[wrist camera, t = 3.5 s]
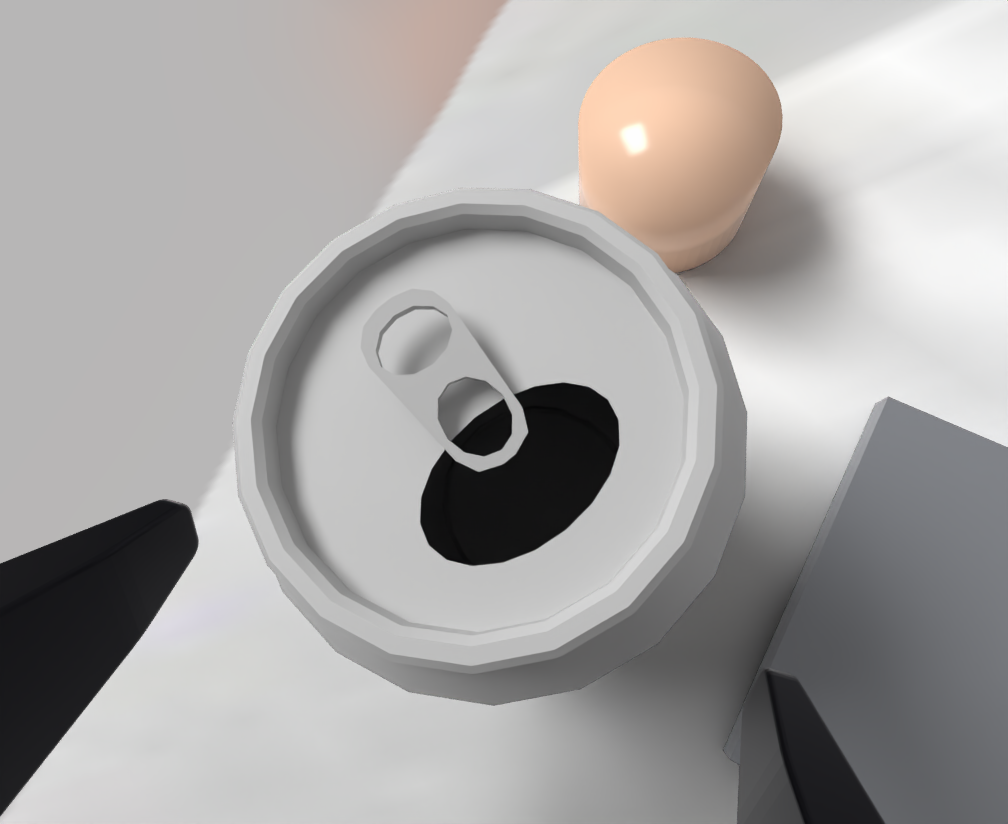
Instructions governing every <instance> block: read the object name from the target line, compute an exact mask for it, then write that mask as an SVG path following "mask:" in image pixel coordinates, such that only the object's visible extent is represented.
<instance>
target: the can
mask: <svg viewBox="0 0 1008 824" xmlns="http://www.w3.org/2000/svg"><path fill="white" fill-rule="evenodd" d="M232 424H233V437H234V449H235V462H236V475H237V488H238V497H239V499H240V501H241V504H242V506H243V509H244V511H245V513H246V516H247V518H248V521H249V523H250V525H251V528H252V530H253V533H254V535H255V537H256V540H257V542H258V545H259V547H260V549H261V552H262V554H263V556H264V559H265V561H266V564H267V566H268V567H269V568H270V569H271V570H272V571H273V572H274V573H275V575H276V577H277V579H278V582H279V584H280V586H281V589H282V591H283V593H284V594H285V595H286V596H287V597H288V598H289V600H290V601H291V602H292V603H293V604H294V605H295V606H296V607H297V609H298V610H299V611H300V612H301V613H302V614H303V615H304V616H305V618H306V619H307V620H308V621H309V622H310V623H311V624H312V625H313V627H314V628H315V629H316V630H317V631H318V632H319V633H320V634H321V636H322V637H323V638H324V639H325V640H326V641H327V642H328V643H329V645H330V646H331V647H332V648H333V649H334V650H335V651H336V652H337V653H339V654H341V655H342V656H344V657H346V658H348V659H350V660H352V661H353V662H355V663H357V664H359V665H361V666H362V667H364V668H366V669H368V670H370V671H371V672H373V673H375V674H377V675H379V676H381V677H382V678H384V679H386V680H388V681H390V682H391V683H393V684H395V685H397V686H399V687H400V688H402V689H404V690H406V691H408V692H412V693H418V694H424V695H430V696H437V697H443V698H449V699H455V700H462V701H468V702H474V703H480V704H487V705H493V706H494V705H500V704H505V703H510V702H515V701H521V700H526V699H531V698H537V697H542V696H547V695H552V694H558V693H563V692H568V691H574V690H579V689H582V688H583V687H585V686H587V685H588V684H590V683H592V682H594V681H595V680H597V679H599V678H600V677H602V676H604V675H605V674H607V673H609V672H611V671H612V670H614V669H616V668H617V667H619V666H621V665H623V664H624V663H626V662H628V661H629V660H631V659H633V658H635V657H636V656H638V655H640V654H641V653H643V652H645V651H646V650H648V649H650V648H652V647H653V646H655V645H657V644H658V643H659V642H660V640H661V639H662V638H663V637H664V636H665V634H666V633H667V632H668V631H669V630H670V629H671V627H672V626H673V625H674V624H675V623H676V621H677V620H678V619H679V618H680V617H681V615H682V614H683V613H684V612H685V611H686V610H687V608H688V607H689V606H690V605H691V604H692V602H693V601H694V600H695V599H696V598H697V596H698V595H699V594H700V593H701V592H702V591H703V589H704V588H705V587H706V586H707V585H708V583H709V582H710V581H711V580H712V579H713V578H714V576H715V574H716V571H717V568H718V566H719V563H720V560H721V558H722V555H723V552H724V550H725V547H726V545H727V542H728V539H729V537H730V534H731V531H732V529H733V526H734V523H735V521H736V518H737V515H738V513H739V510H740V508H741V505H742V502H743V500H744V497H745V475H746V436H747V411H746V408H745V405H744V401H743V398H742V395H741V392H740V389H739V386H738V383H737V379H736V376H735V373H734V370H733V367H732V364H731V360H730V357H729V354H728V351H727V348H726V345H725V342H724V338H723V336H722V335H721V333H720V332H719V331H718V329H717V328H716V327H715V325H714V324H713V323H712V321H711V320H710V318H709V317H708V316H707V314H706V313H705V312H704V310H703V309H702V308H701V306H700V305H699V303H698V302H697V301H696V299H695V298H694V297H693V295H692V294H691V293H690V291H689V290H688V288H687V287H686V286H685V284H684V283H683V282H682V280H681V279H680V278H679V276H678V275H677V274H675V273H674V272H673V271H671V270H670V269H668V267H667V266H666V265H665V263H664V262H663V260H662V259H661V258H660V256H659V255H658V254H657V253H656V252H655V251H653V250H652V249H650V248H649V247H648V246H646V245H645V244H643V243H642V242H641V241H639V240H638V239H636V238H635V237H634V236H632V235H631V234H629V233H628V232H627V231H625V230H624V229H622V228H621V227H620V226H618V225H617V224H615V223H614V222H613V221H611V220H610V219H608V218H607V217H606V216H604V215H603V214H601V213H600V212H599V211H596V210H592V209H589V208H586V207H583V206H580V205H577V204H574V203H571V202H568V201H565V200H562V199H559V198H556V197H553V196H550V195H547V194H544V193H540V192H537V191H534V190H530V189H492V188H458V189H454V190H450V191H446V192H442V193H439V194H435V195H431V196H427V197H423V198H419V199H415V200H411V201H407V202H403V203H399V204H396V205H393V206H391V207H389V208H387V209H386V210H384V211H382V212H380V213H379V214H377V215H375V216H373V217H372V218H370V219H368V220H367V221H365V222H363V223H361V224H360V225H358V226H356V227H354V228H353V229H351V230H349V231H347V232H346V233H344V234H342V235H340V236H339V237H337V238H335V239H333V240H332V242H330V243H329V244H328V245H327V246H326V247H325V248H324V249H323V250H322V251H321V252H320V253H319V254H318V255H317V256H316V257H315V258H314V259H313V260H312V261H311V262H310V263H309V264H308V265H307V266H306V267H305V268H304V269H303V270H302V271H301V273H299V274H298V275H297V276H296V277H295V278H294V279H293V280H292V282H290V283H289V285H287V286H286V288H285V289H284V290H283V291H282V293H281V295H280V296H279V298H278V300H277V302H276V304H275V305H274V307H273V309H272V311H271V312H270V314H269V316H268V318H267V320H266V321H265V323H264V325H263V327H262V329H261V331H260V332H259V334H258V336H257V338H256V339H255V341H254V343H253V345H252V347H251V348H250V350H249V352H248V356H247V360H246V365H245V369H244V374H243V378H242V382H241V387H240V391H239V396H238V400H237V405H236V409H235V414H234V418H233V422H232Z"/></svg>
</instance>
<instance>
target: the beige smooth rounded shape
mask: <svg viewBox="0 0 1008 824" xmlns="http://www.w3.org/2000/svg"><path fill="white" fill-rule="evenodd" d="M578 130H579V205H580V206H583V207H586V208H589V209H592V210H596V211H599V212H600V213H601V214H603V215H604V216H606V217H607V218H608V219H610V220H611V221H613V222H614V223H615V224H617V225H618V226H620V227H621V228H622V229H624V230H625V231H627V232H628V233H629V234H631V235H632V236H634V237H635V238H636V239H638V240H639V241H641V242H642V243H643V244H645V245H646V246H648V247H649V248H650V249H652V250H653V251H655V252H656V253H657V254H658V255H659V256H660V258H661V259H662V260H663V262H664V263H665V265H666V266H667V267H668V269H670V270H671V271H673V272H674V273H677V272H683V271H686V270H690V269H693V268H695V267H698V266H700V265H702V264H704V263H706V262H708V261H709V260H711V259H713V258H714V257H715V256H717V255H718V254H719V253H720V252H722V251H723V250H724V249H725V248H726V247H727V246H728V245H729V243H730V242H731V241H732V239H733V238H734V237H735V235H736V233H737V231H738V229H739V228H740V226H741V223H742V221H743V219H744V217H745V215H746V213H747V210H748V208H749V206H750V204H751V202H752V200H753V198H754V195H755V193H756V191H757V189H758V187H759V185H760V183H761V180H762V178H763V176H764V174H765V172H766V170H767V168H768V165H769V163H770V161H771V159H772V157H773V155H774V152H775V150H776V148H777V145H778V142H779V139H780V135H781V130H782V109H781V103H780V100H779V96H778V93H777V91H776V89H775V87H774V85H773V83H772V82H771V80H770V79H769V77H768V76H767V74H766V73H765V72H764V71H763V70H762V69H761V68H760V66H759V65H757V64H756V63H755V62H754V61H753V60H751V59H750V58H749V57H747V56H746V55H744V54H743V53H741V52H739V51H738V50H736V49H733V48H731V47H729V46H727V45H724V44H721V43H718V42H714V41H710V40H705V39H698V38H671V39H663V40H659V41H654V42H650V43H647V44H644V45H641V46H639V47H636V48H634V49H632V50H630V51H628V52H626V53H624V54H623V55H621V56H619V57H618V58H617V59H615V60H614V61H613V62H611V63H610V64H609V65H608V66H607V67H605V68H604V69H603V70H602V71H601V72H600V73H599V75H598V76H597V77H596V78H595V80H594V81H593V82H592V84H591V86H590V87H589V89H588V90H587V92H586V95H585V97H584V99H583V102H582V105H581V109H580V114H579V122H578Z"/></svg>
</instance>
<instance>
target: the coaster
mask: <svg viewBox="0 0 1008 824" xmlns="http://www.w3.org/2000/svg"><path fill="white" fill-rule="evenodd" d="M764 668H771V669H775V670H779V671H782V672H786V673H789V674H792V675H794V676H795V677H796V678H797V679H798V680H799V681H800V682H801V684H802V686H803V687H804V689H805V691H806V692H807V694H808V696H809V697H810V699H811V701H812V702H813V704H814V706H815V707H816V709H817V710H818V712H819V714H820V715H821V717H822V719H823V720H824V722H825V724H826V725H827V727H828V729H829V730H830V732H831V734H832V735H833V737H834V739H835V740H836V742H837V744H838V745H839V747H840V749H841V750H842V752H843V754H844V755H845V757H846V759H847V760H848V762H849V764H850V765H851V767H852V769H853V770H854V772H855V774H856V775H857V777H858V779H859V780H860V782H861V784H862V785H863V787H864V789H865V790H866V792H867V794H868V795H869V797H870V798H871V800H872V802H873V803H874V805H875V807H876V808H877V810H878V812H879V813H880V815H881V817H882V818H883V820H884V822H885V823H886V824H1008V447H1005V446H1003V445H1001V444H998V443H996V442H994V441H991V440H989V439H987V438H984V437H982V436H979V435H977V434H975V433H972V432H970V431H968V430H965V429H963V428H961V427H958V426H956V425H954V424H951V423H949V422H947V421H944V420H942V419H940V418H937V417H935V416H932V415H930V414H928V413H925V412H923V411H921V410H918V409H916V408H914V407H911V406H909V405H907V404H904V403H902V402H900V401H897V400H895V399H893V398H890V397H887V398H885V399H883V400H881V401H879V402H878V403H876V404H875V406H874V408H873V410H872V413H871V415H870V417H869V419H868V422H867V424H866V426H865V428H864V431H863V433H862V435H861V438H860V440H859V442H858V444H857V447H856V449H855V451H854V453H853V456H852V458H851V460H850V463H849V465H848V467H847V469H846V472H845V474H844V476H843V479H842V481H841V483H840V485H839V488H838V490H837V492H836V494H835V497H834V499H833V501H832V504H831V506H830V508H829V510H828V513H827V515H826V517H825V519H824V522H823V524H822V526H821V529H820V531H819V533H818V535H817V538H816V540H815V542H814V544H813V547H812V549H811V551H810V554H809V556H808V558H807V560H806V563H805V565H804V567H803V570H802V572H801V574H800V576H799V579H798V581H797V583H796V585H795V588H794V590H793V592H792V595H791V597H790V599H789V601H788V604H787V606H786V608H785V610H784V613H783V615H782V617H781V620H780V622H779V624H778V626H777V629H776V631H775V633H774V635H773V638H772V640H771V642H770V645H769V647H768V649H767V651H766V654H765V656H764V658H763V660H762V663H761V665H760V667H759V670H758V672H757V674H756V676H755V679H754V681H753V683H752V686H751V688H752V687H753V685H754V683H755V681H756V679H757V677H758V675H759V673H760V672H761V671H762V670H763V669H764ZM751 688H750V690H751ZM750 690H749V692H750ZM749 692H748V694H749ZM747 696H748V695H747ZM746 698H747V697H746ZM745 700H746V699H745ZM744 703H745V701H744ZM743 706H744V704H743ZM743 706H742V708H741V711H740V713H739V715H738V717H737V720H736V722H735V724H734V726H733V729H732V731H731V733H730V736H729V738H728V740H727V742H726V745H725V747H724V749H723V751H724V752H725V754H726V755H727V756H728V758H729V759H730V760H732V761H733V762H735V763H737V764H738V765H740V743H741V720H742V711H743Z"/></svg>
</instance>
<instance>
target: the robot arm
mask: <svg viewBox="0 0 1008 824" xmlns="http://www.w3.org/2000/svg"><path fill="white" fill-rule="evenodd" d="M198 542H199V540H198V536H197V532H196V528H195V524H194V521H193V517H192V513H191V510H190V508H189V507H188V506H187V505H185V504H183V503H179V502H176V501H172V500H168V499H163V500H158V501H156V502H153V503H151V504H148V505H145V506H143V507H140V508H138V509H136V510H133V511H130V512H128V513H126V514H123V515H120V516H118V517H115V518H113V519H111V520H108V521H106V522H103V523H101V524H98V525H96V526H93V527H91V528H88V529H86V530H83V531H81V532H78V533H76V534H73V535H71V536H68V537H66V538H63V539H61V540H58V541H56V542H53V543H51V544H48V545H46V546H43V547H41V548H38V549H36V550H33V551H31V552H28V553H26V554H23V555H21V556H18V557H16V558H13V559H11V560H8V561H6V562H3V563H1V564H0V816H1V815H2V814H3V812H4V811H5V810H6V809H7V807H8V806H9V805H10V804H11V802H12V801H13V800H14V799H15V797H16V796H17V795H18V793H19V792H20V791H21V790H22V788H23V787H24V786H25V785H26V783H27V782H28V781H29V779H30V778H31V777H32V776H33V774H34V773H35V772H36V771H37V769H38V768H39V767H40V766H41V764H42V763H43V762H44V760H45V759H46V758H47V757H48V755H49V754H50V753H51V752H52V750H53V749H54V748H55V746H56V745H57V744H58V743H59V741H60V740H61V739H62V738H63V736H64V735H65V734H66V733H67V731H68V730H69V729H70V727H71V726H72V725H73V724H74V722H75V721H76V720H77V719H78V717H79V716H80V715H81V713H82V712H83V711H84V710H85V708H86V707H87V706H88V705H89V703H90V702H91V701H92V700H93V698H94V697H95V696H96V694H97V693H98V692H99V691H100V689H101V688H102V687H103V686H104V684H105V683H106V682H107V680H108V679H109V678H110V677H111V675H112V674H113V673H114V672H115V670H116V669H117V668H118V667H119V665H120V664H121V663H122V661H123V660H124V659H125V658H126V656H127V655H128V654H129V653H130V651H131V650H132V649H133V647H134V646H135V645H136V643H137V642H138V641H139V639H140V638H141V637H142V635H143V634H144V632H145V631H146V629H147V628H148V627H149V625H150V624H151V622H152V621H153V619H154V618H155V616H156V614H157V613H158V611H159V610H160V608H161V607H162V605H163V604H164V602H165V601H166V599H167V597H168V596H169V594H170V593H171V591H172V590H173V588H174V587H175V585H176V584H177V582H178V580H179V579H180V577H181V576H182V574H183V573H184V571H185V570H186V568H187V567H188V565H189V563H190V562H191V560H192V559H193V557H194V556H195V554H196V551H197V548H198ZM737 824H886V823H885V822H884V820H883V818H882V817H881V815H880V813H879V812H878V810H877V808H876V807H875V805H874V803H873V802H872V800H871V798H870V797H869V795H868V794H867V792H866V790H865V789H864V787H863V785H862V784H861V782H860V780H859V779H858V777H857V775H856V774H855V772H854V770H853V769H852V767H851V765H850V764H849V762H848V760H847V759H846V757H845V755H844V754H843V752H842V750H841V749H840V747H839V745H838V744H837V742H836V740H835V739H834V737H833V735H832V734H831V732H830V730H829V729H828V727H827V725H826V724H825V722H824V720H823V719H822V717H821V715H820V714H819V712H818V710H817V709H816V707H815V706H814V704H813V702H812V701H811V699H810V697H809V696H808V694H807V692H806V691H805V689H804V687H803V686H802V684H801V682H800V681H799V680H798V679H797V678H796V677H795V676H794V675H792V674H789V673H786V672H782V671H779V670H775V669H771V668H764V669H763V670H762V671H761V672H760V673H759V675H758V677H757V679H756V681H755V683H754V685H753V687H752V688H751V690H750V692H749V694H748V696H747V698H746V700H745V703H744V706H743V711H742V720H741V743H740V766H739V789H738V812H737Z"/></svg>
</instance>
